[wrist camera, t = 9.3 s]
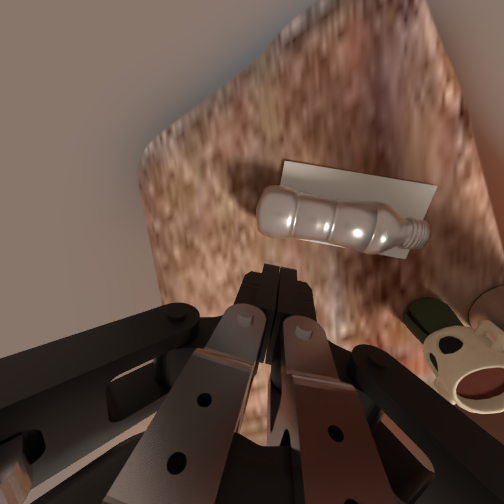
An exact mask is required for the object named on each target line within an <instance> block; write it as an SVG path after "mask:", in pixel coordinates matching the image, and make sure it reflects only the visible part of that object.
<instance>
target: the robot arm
mask: <svg viewBox="0 0 504 504" xmlns="http://www.w3.org/2000/svg"><path fill="white" fill-rule="evenodd" d="M279 269H280V272H279ZM485 320H488V321H491V322H492V323H494V324H495V325H496V326H497V327H498V328H500V329H501V330H502V331H503V332H504V285H503V286H499V287H496V288H494V289H491V290H489V291H487V292H486V293H484V294H483V295H481V296H480V297H479V298H478V299H477V300H476V301H475V303H474V304H473V305H472V307H471V309H470V312H469V322H470V324H471V327H472V328H473V329H476V328H477V327H478V326H479V324H480V323H481V322H483V321H485ZM486 336H487V337H488V338H489V339H490V340H491V341H492V342H494V341H495V339H496V337H495V336H494V335H493V334H491V333H490V332H488V333H487V335H486ZM266 349H267V352H266ZM265 353H266V360H265V363H266V364H270V365H271V373H270V377H269V381H268V408H267V446H260V445H258V444H256V443H254V442H252V441H251V440H249V439H247V438H246V437H244V436H242V435H240V430H241V426H242V422H243V418H244V414H245V410H246V406H247V403H248V399H249V395H250V391H251V387H252V383H253V379H254V376H255V375H256V373H257V370H258V365H259V362H261V363H263V362H264V358H265ZM152 359H154V362H152V363H150V364H148V365H145V366H143V367H141V368H139V369H137V370H135V371H133V372H131V373H129V374H126V375H124V376H122V377H120V378H118V379H116V380H114V381H112V382H110V381H111V380H112V379H114V378H115V377H116V376H118V375H119V374H122V373H124V372H126V371H128V370H130V369H132V368H134V367H137V366H139V365H141V364H143V363H145V362H147V361H149V360H152ZM155 412H157V413H156V414H155V416H154V418H153V419H152V421H151V423H150V424H149V426H148V427H147V429H146V431H144V432H142V433H139V434H137V435H134V436H132V437H130V438H128V439H126V440H125V441H123V442H121V443H119V444H118V445H116V446H114V447H113V448H112V449H110V450H108V451H107V452H106V453H104V454H103V455H101V456H100V457H98V458H97V459H95V460H94V461H92V462H91V463H89V464H88V465H86V466H85V467H84V468H82V469H81V470H79V471H78V472H76V473H75V474H73V475H72V476H70V477H69V478H67V479H66V480H64V481H63V482H61V483H60V484H59V485H57V486H56V487H54V488H53V489H51V490H50V491H48V492H47V493H46V494H44V495H42V496H41V497H39V498H38V499H36V500H35V501H34V502H32V503H30V504H504V445H503V444H502V443H500V442H499V441H498V440H497V439H495V438H494V437H493V436H492V435H490V434H489V433H488V432H486V431H485V430H484V429H483V428H482V427H480V426H479V425H478V424H476V423H475V422H474V421H473V420H471V419H470V418H469V417H468V416H466V415H465V414H464V413H463V412H461V411H460V410H459V409H458V408H456V407H455V406H454V405H453V404H451V403H450V402H449V401H447V400H446V399H445V398H444V397H442V396H441V395H440V394H439V393H437V392H436V391H435V390H434V389H432V388H431V387H430V386H429V385H427V384H426V383H425V382H424V381H422V380H421V379H420V378H418V377H417V376H416V375H415V374H413V373H412V372H411V371H410V370H408V369H407V368H406V367H405V366H403V365H402V364H401V363H400V362H398V361H397V360H396V359H395V358H393V357H392V356H391V355H389V354H388V353H387V352H385V351H383V350H381V349H379V348H377V347H375V346H371V345H365V344H362V345H357V346H355V347H354V348H353V350H352V352H350V351H348V350H345V349H343V348H341V347H339V346H337V345H335V344H333V343H331V342H330V341H329V340H327V337H326V333H325V331H324V329H323V328H322V327H321V325H320V324H318V323H317V320H316V313H315V307H314V301H313V294H312V289H311V288H310V287H309V285H308V284H307V283H306V282H301V281H297V270H295V269H290V268H285V267H281V268H280V266H275V265H270V264H265V263H264V267H263V271H262V273H258V272H253V271H251V272H249V273H248V274H246V275H245V276H244V279H243V281H242V284H241V287H240V289H239V292H238V294H237V297H236V299H235V302H234V305H232V306H230V307H228V308H227V309H226V311H225V313H224V314H223V315H222V316H218V317H200V314H199V312H198V310H197V309H196V308H195V307H193V306H192V305H189V304H186V303H170V304H167V305H163V306H160V307H157V308H154V309H151V310H148V311H146V312H142V313H139V314H136V315H133V316H130V317H127V318H124V319H121V320H118V321H114V322H111V323H108V324H105V325H102V326H99V327H96V328H93V329H90V330H87V331H84V332H81V333H78V334H75V335H72V336H68V337H65V338H62V339H59V340H56V341H53V342H50V343H47V344H44V345H41V346H38V347H35V348H32V349H28V350H25V351H22V352H19V353H17V354H13V355H10V356H7V357H4V358H1V359H0V504H23V503H24V501H25V499H26V497H27V496H28V493H29V492H30V490H31V489H32V488H34V487H36V486H37V485H39V484H41V483H42V482H44V481H45V480H47V479H49V478H50V477H52V476H54V475H55V474H57V473H58V472H60V471H62V470H63V469H65V468H66V467H68V466H70V465H71V464H73V463H74V462H76V461H78V460H79V459H81V458H83V457H84V456H86V455H87V454H89V453H91V452H92V451H94V450H95V449H97V448H99V447H100V446H102V445H103V444H105V443H107V442H108V441H110V440H111V439H113V438H115V437H116V436H118V435H119V434H121V433H123V432H124V431H126V430H127V429H129V428H131V427H132V426H134V425H136V424H137V423H139V422H140V421H142V420H144V419H145V418H147V417H149V416H150V415H152V414H153V413H155ZM384 413H386V415H388V417H390V419H392V420H393V422H394V423H396V425H397V426H399V428H400V429H401V430H402V431H403V432H404V433H405V434H406V435H407V436H408V437H409V438H410V439H411V440H412V441H413V442H414V443H415V444H416V445H417V446H418V447H419V448H420V449H421V450H422V451H423V452H424V453H425V454H426V455H427V457H428V458H429V459H430V461H431V463H432V464H433V467H434V470H435V473H434V472H431V471H429V470H428V469H427V468H425V467H424V466H423V465H422V464H421V463H420V462H419V461H418V460H417V459H416V458H415V457H414V455H413V454H412V453H410V451H409V450H408V449H407V448H406V447H405V446H404V445H403V444H402V443H401V442H400V441H399V440H398V439H397V438H396V437H395V436H394V434H393V433H392V432H391V431H390V430H389V429H388V428H387V427H386V426H385V425H384V424H383V423H382V422H381V421H380V420H381V418H382V417H383V415H384Z"/></svg>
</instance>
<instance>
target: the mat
mask: <svg viewBox="0 0 504 504" xmlns="http://www.w3.org/2000/svg"><path fill="white" fill-rule="evenodd" d="M280 185H283V186H287V187H290V188H293V189H296V190H298V191H299V192H304V193H308V194H312V195H316V196H320V197H324V198H331V199H334V200H337V199H340V200H349V201H379V202H385V203H387V204H389V205H391V206H392V207H393V208H395V209H396V210H397V211H398V212H399V213H400V214H401V216H402V217H403V218H404V219H405V218H407V217H412V218H415V219H420V220H423V219H424V217H425V214H426V212H427V210H428V208H429V205H430V203H431V201H432V198H433V196H434V194H435V192H436V189H437V187H438V186H434V185H428V184H422V183H416V182H410V181H404V180H398V179H392V178H386V177H380V176H374V175H368V174H362V173H356V172H350V171H344V170H338V169H332V168H326V167H320V166H314V165H308V164H302V163H296V162H290V161H285V162H284V167H283V172H282V178H281V183H280ZM300 240H305V239H300ZM306 241H311V242H316V243H322V244H327V245H332V246H337V247H342V246H339V245H334V244H330V243H327V242H321V241H316V240H306ZM343 248H345V247H343ZM409 251H410V249H400V248H398V247H397V246H396V247H394V248H392V249H390V250H388V251H385V252H382V253H380V255H385V256H390V257H395V258H401V259H406V257H407V255H408V253H409Z"/></svg>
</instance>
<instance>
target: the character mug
mask: <svg viewBox="0 0 504 504" xmlns="http://www.w3.org/2000/svg"><path fill="white" fill-rule="evenodd" d="M408 309H409V310H410V311H411V312H412V313H411V315H410V318H409V317H408V316H407V314H406V313H404V314H403V321H404V323H405V325H406V326H407V328H408V329H409V330H410V331H411V332H412V333H413V335H414V336H415V337H416V338H417V339H418V340H419V341H420V342H421V343H422V344H423V345H424V346H423V352H424V358H425V360H426V362H427V364H428V366H429V367H430V369H431V370H432V371H433V373H434V374H435V376H436V377H437V378H436V379H435V380H434V386H435V388H436V389H437V391H438V393H439V394H440V395H441V396H442V397H444V398H445V399H446V400H447V401H449V402H450V403H451V404H453V405H454V404H456V403H457V404H458V406H460V407H461V408H464V409H465V410H467V411H469V412H474V413H481V414H488V413H499V412H503V411H504V332H503V331H502V330H501V329H500V328H498V327H497V326H496V325H495V324H494V323H492V322H491V321H488V320H485V321H483V322H481V323H480V324H479V326H478V327H477V328H476V329H473V328H470V327H466V326H464V325H463V324H462V323H461V321H460V320H459V319H458V317H457V316H456V315H455V313H454V312H453V311H452V310H451V308H450V307H449V306H448V305H447V304H446V303H444V302H442V301H440V300H437V299H431V298H425V299H421V300H417V301H415V302H414V303H412V304H411V305H409V306H408ZM488 332H490V333H491V334H493V335H494V336H495V337H496V339H495V341H494V342H492V341H491V340H490V339H489V338H488V337H487V336H486V335H487V333H488Z"/></svg>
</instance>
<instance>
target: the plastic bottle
mask: <svg viewBox="0 0 504 504" xmlns="http://www.w3.org/2000/svg"><path fill="white" fill-rule="evenodd" d="M256 219H257V228H258V231H259V232H260V233H261V234H262V235H265V236H268V237H270V238H277V239H289V238H294V239H305V240H316V241H321V242H327V243H330V244H334V245H339V246H342V247H345V248H348V249H352V250H355V251H358V252H361V253H365V254H369V255H371V254H380V253H382V252H385V251H388V250H390V249H392V248H394V247H396V246H397V247H398V248H400V249H411V250H419V249H421V248H422V247H423V246H424V245H425V244H426V242H427V240H428V238H429V234H430V226H429V223H428V222H427V221H425V220H420V219H415V218H412V217H407V218H405V219H404V218H403V217H402V216H401V214H400V213H399V212H398V211H397V210H396V209H395V208H393V207H392V206H391V205H389V204H387V203H385V202H379V201H349V200H340V199H337V200H334V199H331V198H324V197H320V196H316V195H312V194H308V193H304V192H299V191H298V190H296V189H293V188H290V187H287V186H283V185H270V186H268V187H266V188H264V190H263V192H262V195H261V197H260V199H259V202H258V204H257V208H256Z"/></svg>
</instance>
